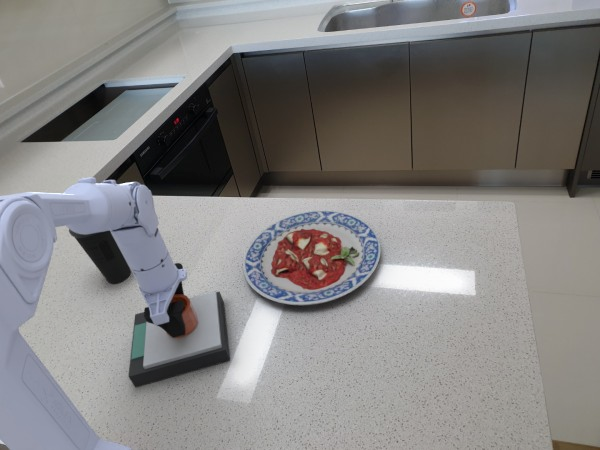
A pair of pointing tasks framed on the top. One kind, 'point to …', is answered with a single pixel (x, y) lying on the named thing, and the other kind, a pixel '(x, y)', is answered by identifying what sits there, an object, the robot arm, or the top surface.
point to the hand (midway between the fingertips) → (179, 320)
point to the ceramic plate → (311, 258)
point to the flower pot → (186, 313)
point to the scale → (180, 344)
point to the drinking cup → (104, 255)
